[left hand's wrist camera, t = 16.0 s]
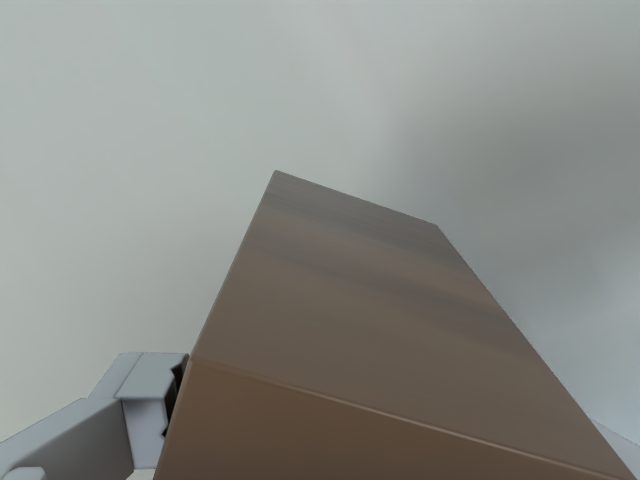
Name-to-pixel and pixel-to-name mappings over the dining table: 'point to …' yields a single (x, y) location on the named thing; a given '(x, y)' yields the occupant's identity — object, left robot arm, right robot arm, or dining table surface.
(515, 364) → the bar
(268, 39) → the dining table surface
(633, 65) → the dining table surface
